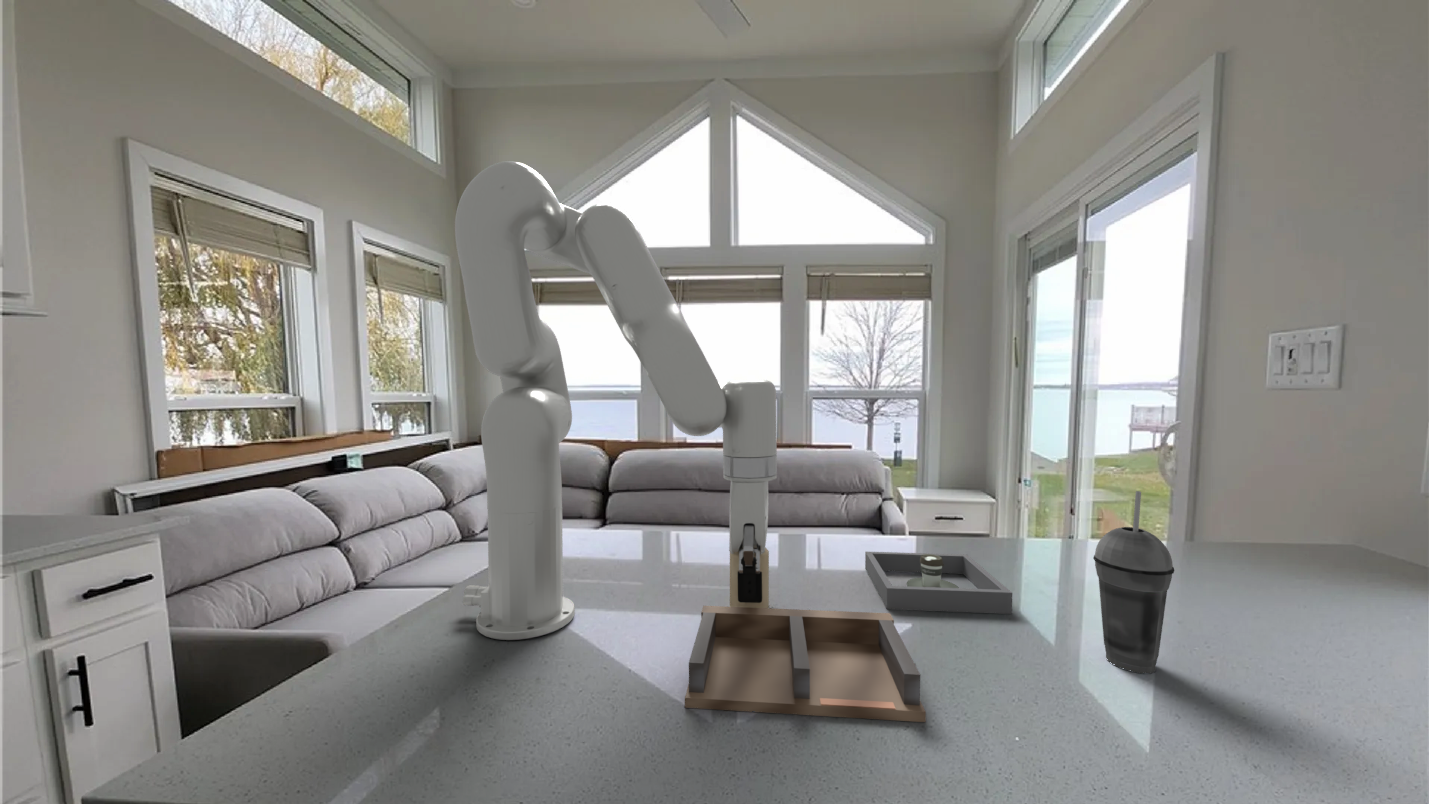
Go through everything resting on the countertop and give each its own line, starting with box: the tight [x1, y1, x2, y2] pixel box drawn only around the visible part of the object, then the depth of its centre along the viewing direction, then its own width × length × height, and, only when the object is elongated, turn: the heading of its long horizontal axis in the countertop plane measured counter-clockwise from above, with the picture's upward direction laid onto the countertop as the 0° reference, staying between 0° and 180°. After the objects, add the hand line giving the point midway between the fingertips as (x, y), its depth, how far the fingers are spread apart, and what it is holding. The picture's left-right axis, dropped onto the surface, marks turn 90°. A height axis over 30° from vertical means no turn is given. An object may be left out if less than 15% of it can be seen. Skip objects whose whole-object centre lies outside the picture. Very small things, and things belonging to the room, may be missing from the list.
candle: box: [729, 546, 770, 608], centre depth 75 cm, size 6×6×10 cm
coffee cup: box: [906, 553, 960, 588], centre depth 83 cm, size 12×12×5 cm
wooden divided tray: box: [684, 605, 927, 723], centre depth 59 cm, size 23×15×4 cm, turn 84°
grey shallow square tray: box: [864, 551, 1013, 615], centre depth 84 cm, size 17×17×3 cm
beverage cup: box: [1093, 490, 1175, 674], centre depth 61 cm, size 7×7×20 cm
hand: (751, 587), depth 75 cm, fingers open, 9 cm apart
